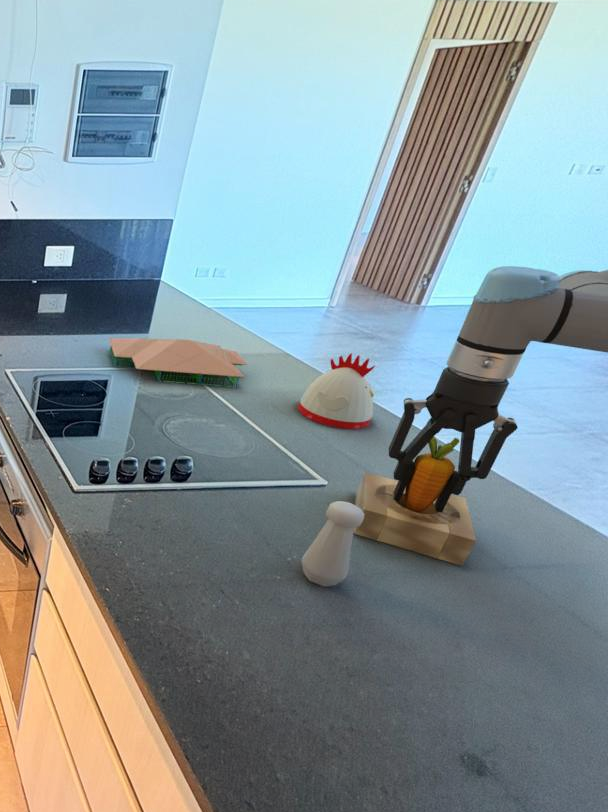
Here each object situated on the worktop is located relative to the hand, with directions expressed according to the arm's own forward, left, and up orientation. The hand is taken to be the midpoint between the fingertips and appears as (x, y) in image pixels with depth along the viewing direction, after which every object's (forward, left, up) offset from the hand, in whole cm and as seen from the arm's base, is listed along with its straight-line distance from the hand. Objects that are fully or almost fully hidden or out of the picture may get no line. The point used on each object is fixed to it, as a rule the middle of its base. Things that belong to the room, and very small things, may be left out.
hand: (417, 502), depth 102 cm
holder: (0, 0, -5) cm, 5 cm away
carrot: (0, 0, -3) cm, 3 cm away
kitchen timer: (+12, -44, -6) cm, 46 cm away
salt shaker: (+11, +23, -6) cm, 26 cm away
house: (+49, -53, -6) cm, 72 cm away
